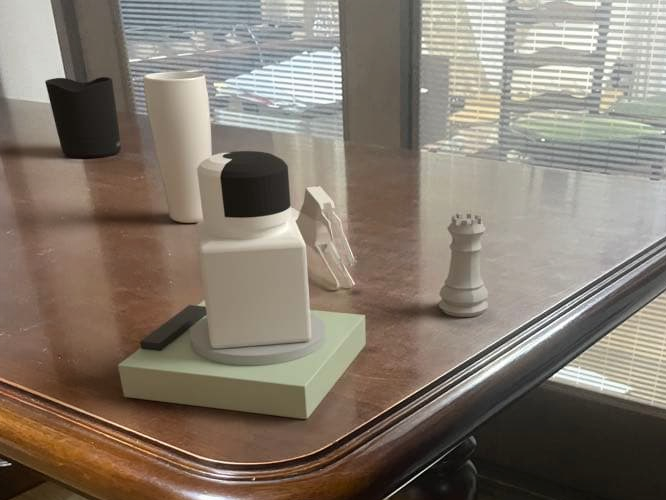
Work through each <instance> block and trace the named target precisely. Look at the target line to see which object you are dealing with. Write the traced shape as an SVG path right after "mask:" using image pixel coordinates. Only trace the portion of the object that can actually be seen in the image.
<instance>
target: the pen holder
mask: <svg viewBox="0 0 666 500" xmlns="http://www.w3.org/2000/svg"><path fill="white" fill-rule="evenodd" d="M113 82H114V81H113V78H111V77H107V76H102V77H101V76H100V77H97V78H95V79H92V80H90V81H87V82H81V81H77V80H74V79H71V78H68V77H67V78H65V77H54V78H50V79H49V78H48V79H46V80H45V82H44V83H45V87H46V91H47V95H48V99H49V103H50V104H49V105H50V108H51V112H52V116H53V119H54V124H55V128H56V133H57V136H58V140H59V144H60V148H61V151H62V153H63V154H64V156H65V157H68V158H75V159H96V158H105V157H111V156H115V155H117V154H119V153H121V149H122V145H121V144H122V143H121V137H120V128H119V120H118V113H117V106H116V105H117V104H116V98H115V91H114V84H113Z"/></svg>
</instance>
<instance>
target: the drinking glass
mask: <svg viewBox="0 0 666 500" xmlns="http://www.w3.org/2000/svg"><path fill="white" fill-rule="evenodd" d="M142 82H143V92H144V98H145V99H144V101H145V106H146V112H147V118H148V123H149V127H150V132H151V137H152V142H153V146H154V150H155V154H156V158H157V163H158V167H159V171H160V175H161V180H162V184H163V189H164V194H165V198H166V204H167V210H168V216H169V217H170V219H171V220H173V221H174V222H176V223H183V224H197V223H198V222H199V221H203V214H202V206H201V198H200V190H199V182H198V174H197V168H198V166H199V165H200V163H201V162H202V161H204V160H206V159H207V158H209V157H211V156H213V147H212V119H211V109H210V100H209V93H208V86H207V80H206V75H205V74H204V73H201V72H196V71H195V72H194V71H164V72H163V71H162V72H154V73H148V74H144V75H143V77H142Z"/></svg>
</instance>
